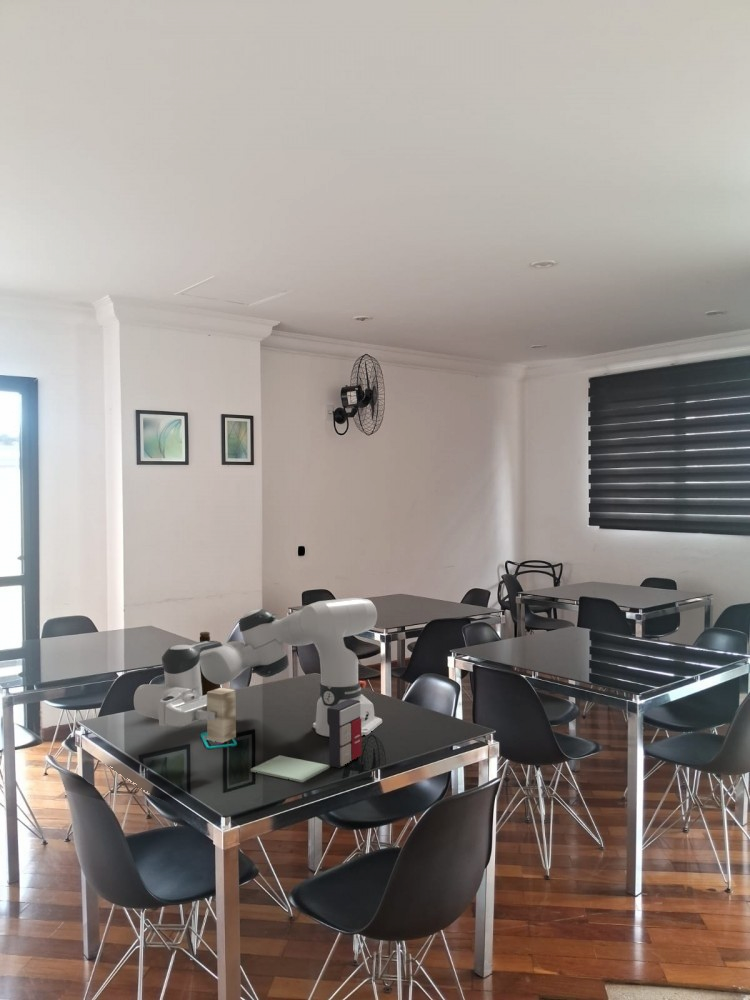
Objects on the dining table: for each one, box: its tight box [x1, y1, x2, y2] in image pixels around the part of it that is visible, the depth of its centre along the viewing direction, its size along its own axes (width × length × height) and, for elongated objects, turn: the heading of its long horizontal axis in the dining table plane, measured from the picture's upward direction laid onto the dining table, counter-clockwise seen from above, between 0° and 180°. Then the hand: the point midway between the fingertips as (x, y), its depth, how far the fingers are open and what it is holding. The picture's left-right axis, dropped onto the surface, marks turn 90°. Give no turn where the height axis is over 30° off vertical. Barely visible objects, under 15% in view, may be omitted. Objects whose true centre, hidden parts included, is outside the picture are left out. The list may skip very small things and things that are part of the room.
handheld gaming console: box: [200, 731, 238, 750], centre depth 224 cm, size 8×1×15 cm
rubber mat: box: [250, 754, 331, 783], centre depth 199 cm, size 12×16×1 cm
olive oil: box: [199, 631, 221, 696], centre depth 258 cm, size 11×11×25 cm
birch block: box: [206, 687, 237, 744], centre depth 197 cm, size 5×5×12 cm
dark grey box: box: [327, 699, 362, 769], centre depth 204 cm, size 11×4×15 cm, turn 151°
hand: (224, 712), depth 196 cm, fingers closed on birch block, 5 cm apart
